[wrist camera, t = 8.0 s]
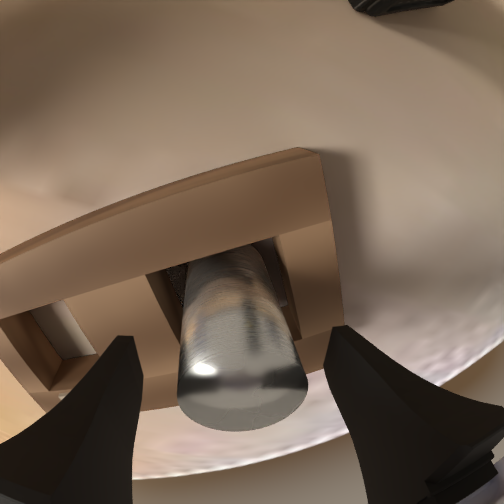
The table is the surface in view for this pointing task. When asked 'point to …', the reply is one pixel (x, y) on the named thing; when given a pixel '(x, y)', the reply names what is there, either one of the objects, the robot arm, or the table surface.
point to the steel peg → (236, 346)
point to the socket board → (156, 278)
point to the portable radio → (393, 5)
